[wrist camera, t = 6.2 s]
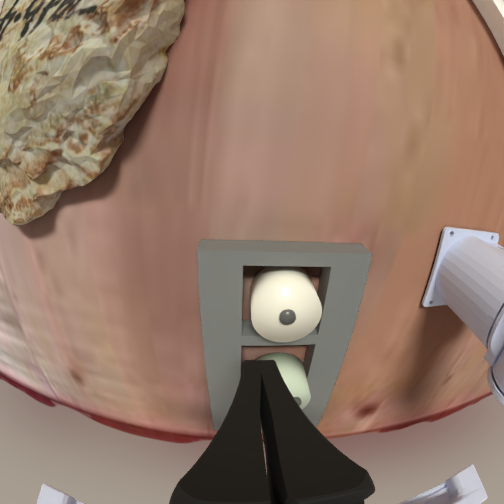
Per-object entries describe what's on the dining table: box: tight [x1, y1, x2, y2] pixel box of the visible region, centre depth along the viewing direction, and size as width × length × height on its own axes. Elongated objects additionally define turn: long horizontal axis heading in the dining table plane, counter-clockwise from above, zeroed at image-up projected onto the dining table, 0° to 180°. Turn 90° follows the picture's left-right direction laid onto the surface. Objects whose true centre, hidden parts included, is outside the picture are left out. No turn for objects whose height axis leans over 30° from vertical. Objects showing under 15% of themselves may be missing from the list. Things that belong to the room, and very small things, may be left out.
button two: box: [256, 353, 311, 409], centre depth 20 cm, size 5×5×4 cm
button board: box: [197, 240, 372, 430], centre depth 23 cm, size 12×22×2 cm, turn 178°
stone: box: [0, 0, 185, 226], centre depth 11 cm, size 19×6×25 cm
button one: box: [250, 266, 322, 342], centre depth 19 cm, size 5×5×4 cm
